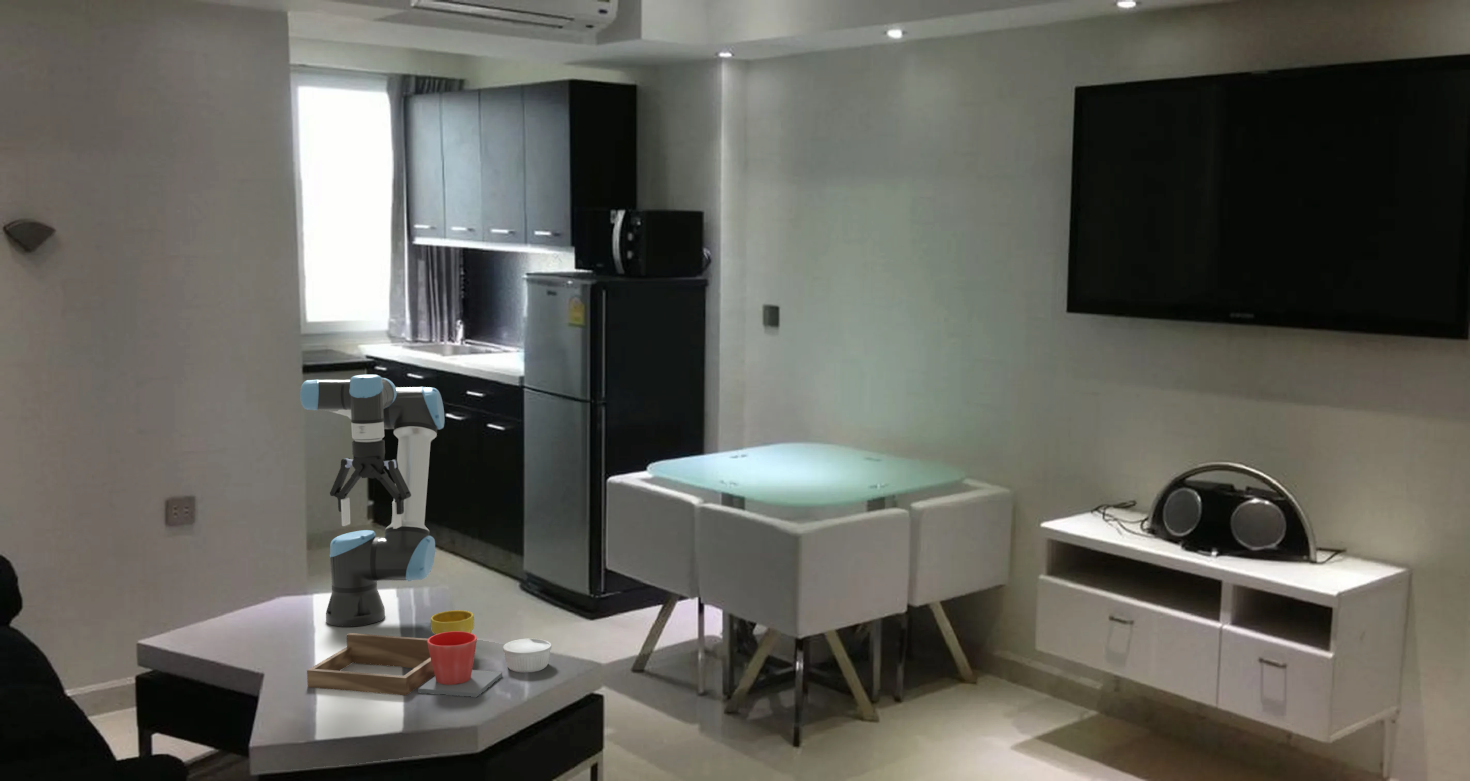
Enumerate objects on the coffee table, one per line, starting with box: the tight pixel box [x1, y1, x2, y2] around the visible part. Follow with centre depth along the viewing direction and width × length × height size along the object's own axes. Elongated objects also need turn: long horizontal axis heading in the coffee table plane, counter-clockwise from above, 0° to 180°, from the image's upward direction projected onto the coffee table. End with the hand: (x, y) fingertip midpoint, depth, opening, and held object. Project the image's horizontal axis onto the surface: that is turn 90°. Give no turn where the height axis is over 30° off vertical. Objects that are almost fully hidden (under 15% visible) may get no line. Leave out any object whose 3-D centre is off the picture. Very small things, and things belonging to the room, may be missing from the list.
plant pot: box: [430, 609, 475, 635], centre depth 307 cm, size 10×10×10 cm
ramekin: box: [502, 637, 552, 673], centre depth 299 cm, size 11×11×5 cm
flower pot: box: [427, 631, 478, 685], centre depth 287 cm, size 11×11×10 cm
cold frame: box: [306, 632, 435, 696], centre depth 291 cm, size 18×24×7 cm
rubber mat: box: [417, 669, 503, 698], centre depth 287 cm, size 14×14×1 cm
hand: (371, 526), depth 306 cm, fingers open, 13 cm apart
